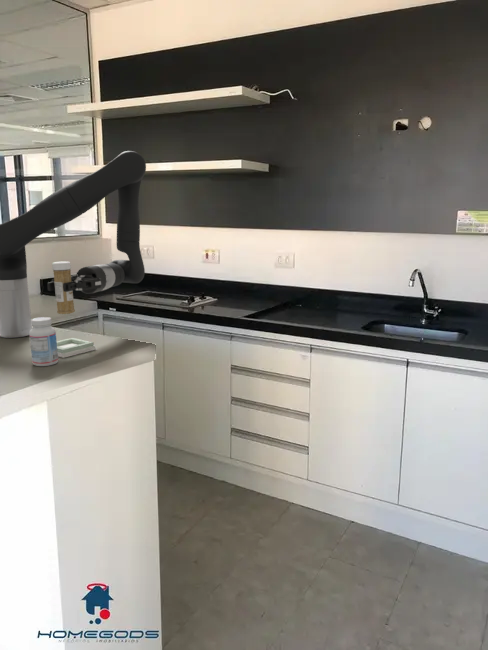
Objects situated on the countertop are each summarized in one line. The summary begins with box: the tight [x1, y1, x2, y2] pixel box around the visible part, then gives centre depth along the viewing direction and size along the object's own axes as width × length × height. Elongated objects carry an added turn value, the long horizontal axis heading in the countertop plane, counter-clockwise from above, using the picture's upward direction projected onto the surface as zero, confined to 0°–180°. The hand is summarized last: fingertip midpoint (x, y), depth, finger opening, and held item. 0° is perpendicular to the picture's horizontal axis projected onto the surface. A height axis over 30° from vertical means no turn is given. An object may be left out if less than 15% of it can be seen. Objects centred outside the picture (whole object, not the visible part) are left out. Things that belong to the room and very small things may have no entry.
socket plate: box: [56, 337, 97, 358], centre depth 147 cm, size 10×10×2 cm
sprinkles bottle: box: [51, 260, 76, 315], centre depth 143 cm, size 5×5×14 cm
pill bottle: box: [28, 316, 59, 367], centre depth 134 cm, size 6×6×11 cm
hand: (56, 287), depth 141 cm, fingers closed on sprinkles bottle, 4 cm apart
